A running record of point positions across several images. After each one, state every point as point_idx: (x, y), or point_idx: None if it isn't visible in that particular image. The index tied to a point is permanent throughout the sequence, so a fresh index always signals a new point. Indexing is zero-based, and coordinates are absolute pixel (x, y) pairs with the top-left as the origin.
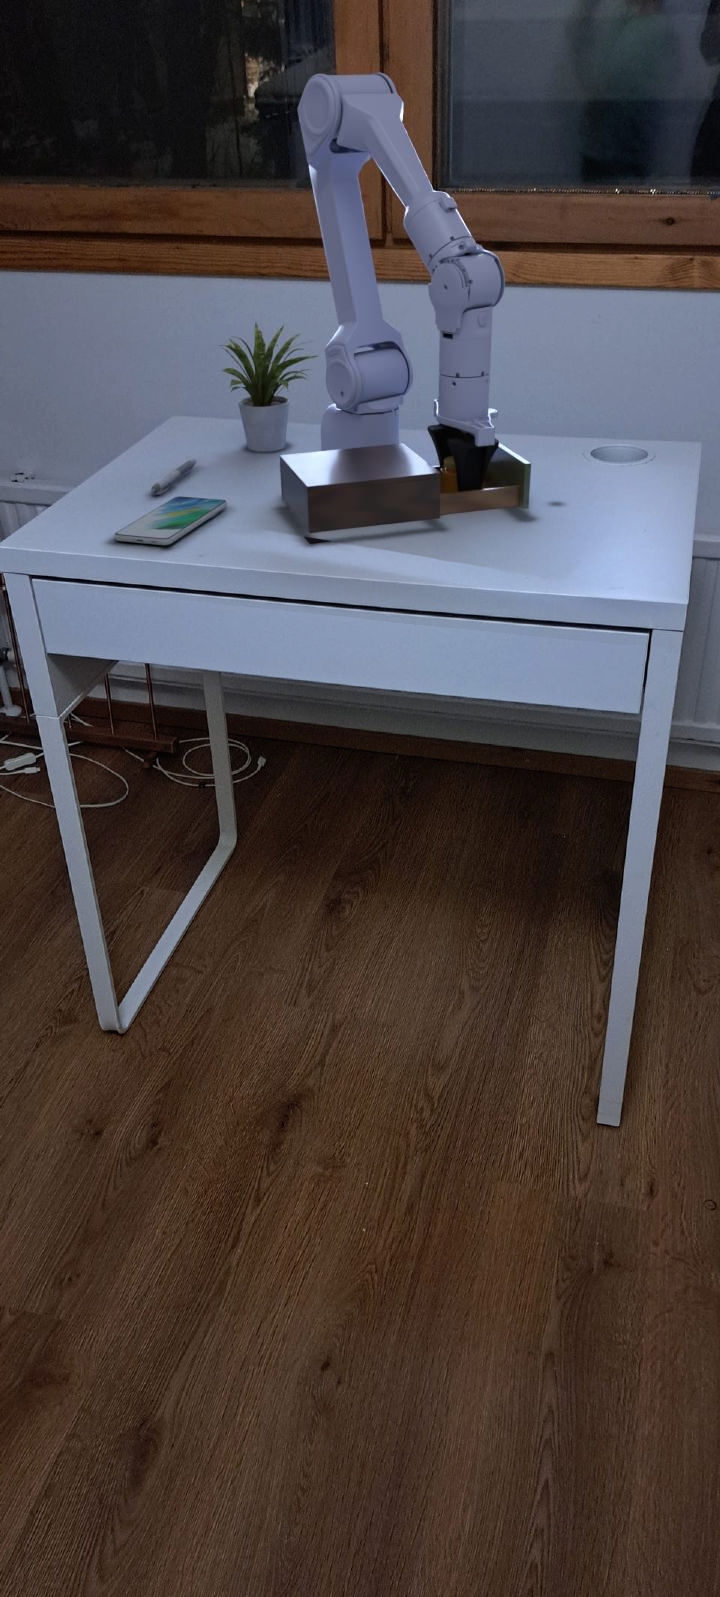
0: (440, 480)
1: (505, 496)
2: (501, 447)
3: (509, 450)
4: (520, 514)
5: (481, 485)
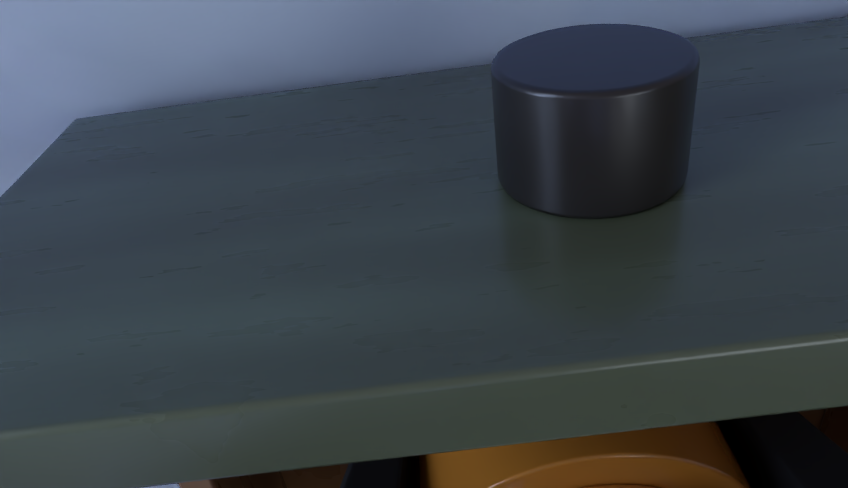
0: (271, 481)
1: None
2: (580, 429)
3: (809, 368)
4: (843, 15)
5: (803, 416)
